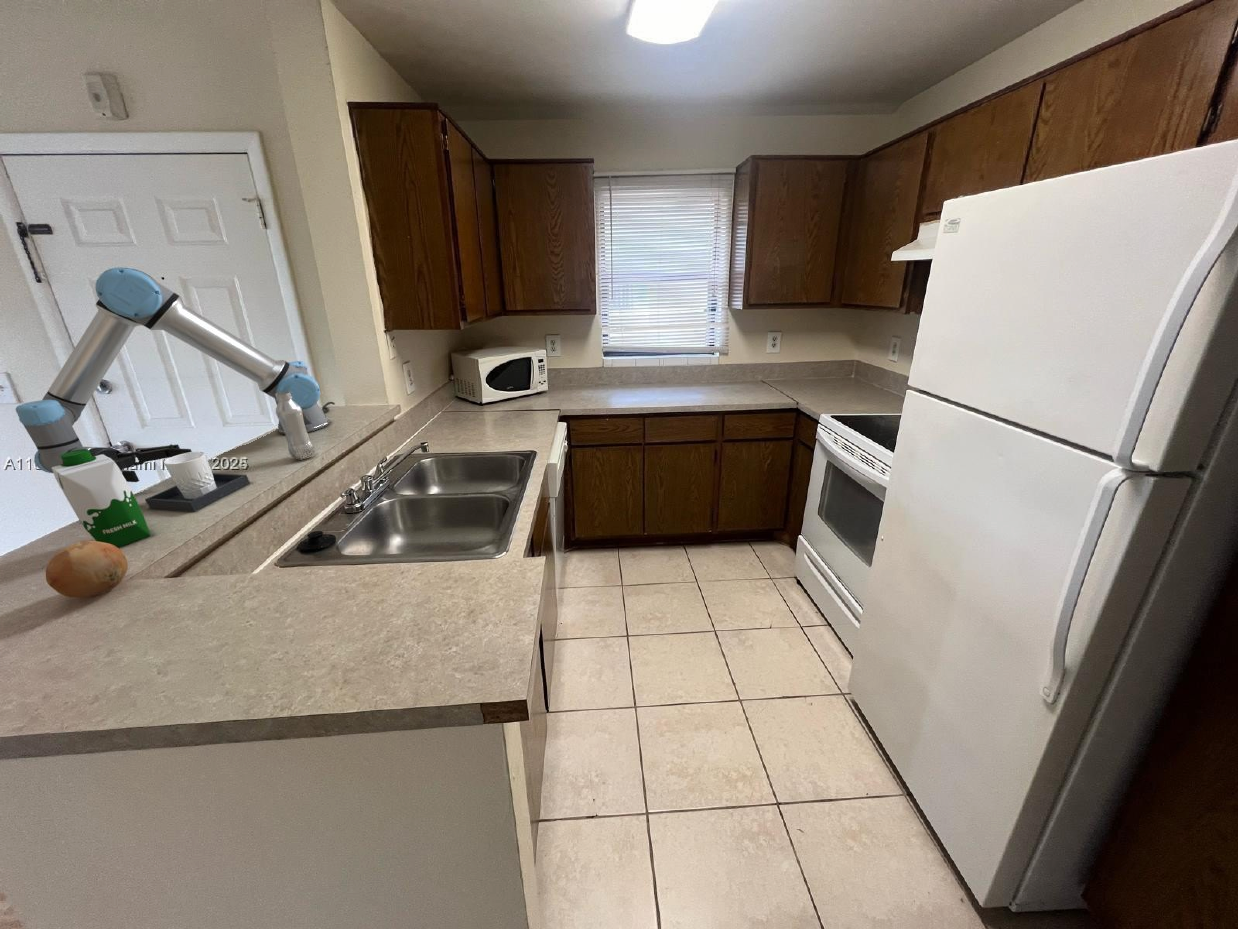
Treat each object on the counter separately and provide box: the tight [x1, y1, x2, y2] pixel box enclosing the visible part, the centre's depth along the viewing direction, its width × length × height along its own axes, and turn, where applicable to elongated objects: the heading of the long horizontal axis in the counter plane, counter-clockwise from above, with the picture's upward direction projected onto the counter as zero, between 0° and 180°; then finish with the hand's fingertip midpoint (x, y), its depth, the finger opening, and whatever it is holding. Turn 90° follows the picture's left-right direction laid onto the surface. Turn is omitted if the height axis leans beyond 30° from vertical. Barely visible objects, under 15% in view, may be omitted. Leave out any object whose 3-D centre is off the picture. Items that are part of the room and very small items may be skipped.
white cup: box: [163, 451, 217, 499], centre depth 118 cm, size 8×8×10 cm
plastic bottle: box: [275, 391, 316, 461], centre depth 137 cm, size 6×7×20 cm
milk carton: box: [52, 449, 152, 549], centre depth 98 cm, size 9×9×20 cm
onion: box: [45, 540, 129, 599], centre depth 84 cm, size 10×10×10 cm
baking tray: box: [144, 472, 251, 513], centre depth 120 cm, size 15×13×3 cm
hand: (164, 464), depth 119 cm, fingers open, 13 cm apart
